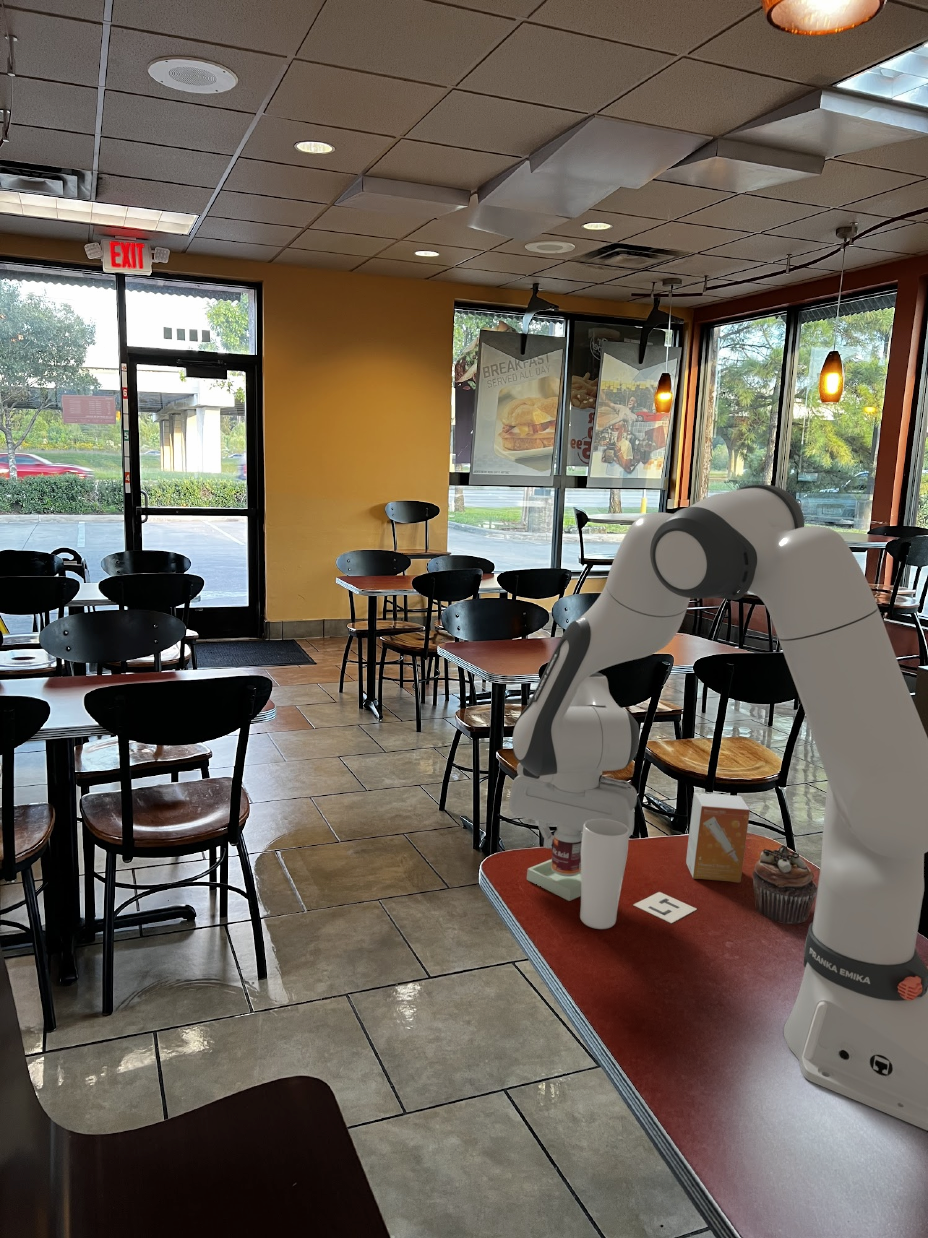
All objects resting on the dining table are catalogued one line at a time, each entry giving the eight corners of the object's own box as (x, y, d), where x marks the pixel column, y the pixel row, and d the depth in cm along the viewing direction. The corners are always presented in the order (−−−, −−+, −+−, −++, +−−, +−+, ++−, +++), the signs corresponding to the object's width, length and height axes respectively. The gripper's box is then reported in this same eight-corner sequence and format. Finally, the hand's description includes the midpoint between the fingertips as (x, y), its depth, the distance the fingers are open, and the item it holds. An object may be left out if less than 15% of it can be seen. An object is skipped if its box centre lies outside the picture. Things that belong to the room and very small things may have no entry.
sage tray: (605, 884, 149) (606, 874, 148) (569, 901, 142) (570, 889, 142) (562, 865, 155) (563, 854, 155) (526, 879, 149) (527, 868, 148)
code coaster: (697, 909, 142) (697, 908, 142) (671, 923, 137) (671, 922, 137) (659, 892, 147) (659, 891, 147) (633, 905, 142) (633, 904, 142)
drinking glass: (619, 913, 140) (627, 820, 137) (622, 935, 133) (631, 838, 130) (574, 908, 140) (582, 815, 137) (575, 931, 134) (583, 834, 131)
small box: (692, 880, 152) (700, 805, 150) (685, 863, 158) (692, 791, 156) (741, 883, 152) (750, 809, 150) (732, 866, 158) (740, 795, 156)
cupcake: (792, 933, 137) (800, 870, 135) (736, 906, 144) (743, 846, 142) (826, 915, 143) (834, 855, 141) (771, 891, 150) (778, 833, 148)
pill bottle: (544, 869, 148) (548, 820, 147) (564, 862, 151) (568, 813, 150) (566, 880, 145) (571, 830, 143) (586, 872, 148) (591, 823, 147)
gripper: (643, 777, 143) (635, 860, 146) (523, 752, 152) (517, 831, 155) (632, 790, 138) (624, 875, 140) (507, 763, 147) (502, 844, 149)
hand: (567, 852), depth 148 cm, fingers closed on pill bottle, 5 cm apart
